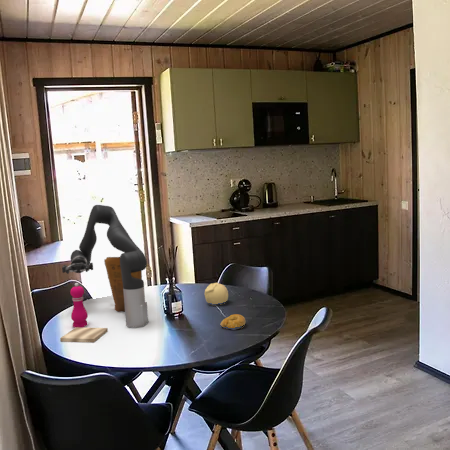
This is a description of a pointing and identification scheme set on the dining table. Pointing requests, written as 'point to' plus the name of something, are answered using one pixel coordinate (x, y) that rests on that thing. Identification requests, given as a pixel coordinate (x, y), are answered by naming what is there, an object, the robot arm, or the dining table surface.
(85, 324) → the pepper mill
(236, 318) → the bagel
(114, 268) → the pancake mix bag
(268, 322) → the dining table surface
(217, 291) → the tan round lump
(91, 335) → the birch board
